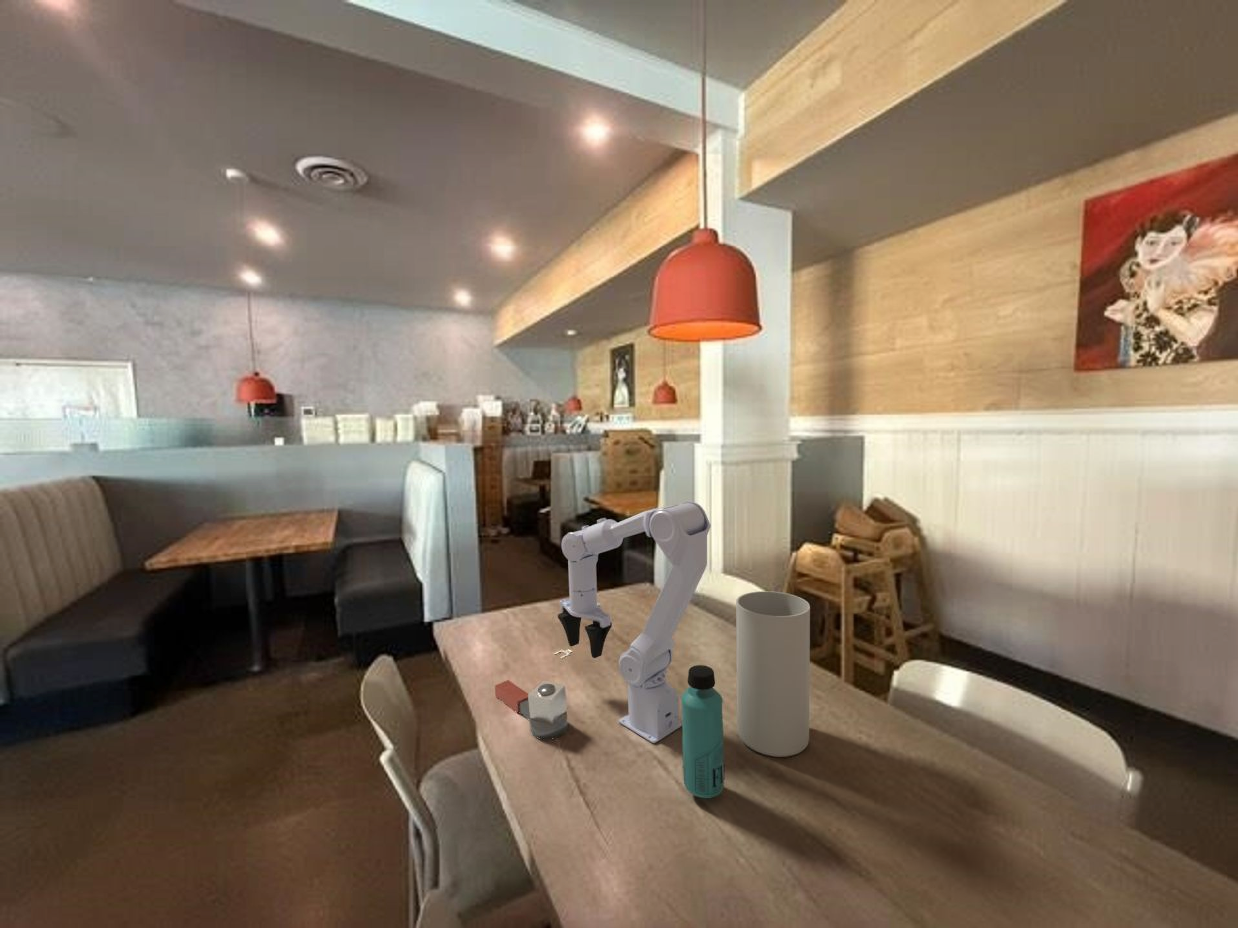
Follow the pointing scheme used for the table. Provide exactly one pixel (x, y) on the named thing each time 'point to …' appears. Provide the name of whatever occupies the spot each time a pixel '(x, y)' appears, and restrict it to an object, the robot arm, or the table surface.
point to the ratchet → (521, 704)
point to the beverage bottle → (702, 734)
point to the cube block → (547, 702)
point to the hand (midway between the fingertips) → (585, 650)
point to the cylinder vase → (773, 672)
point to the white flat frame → (564, 652)
